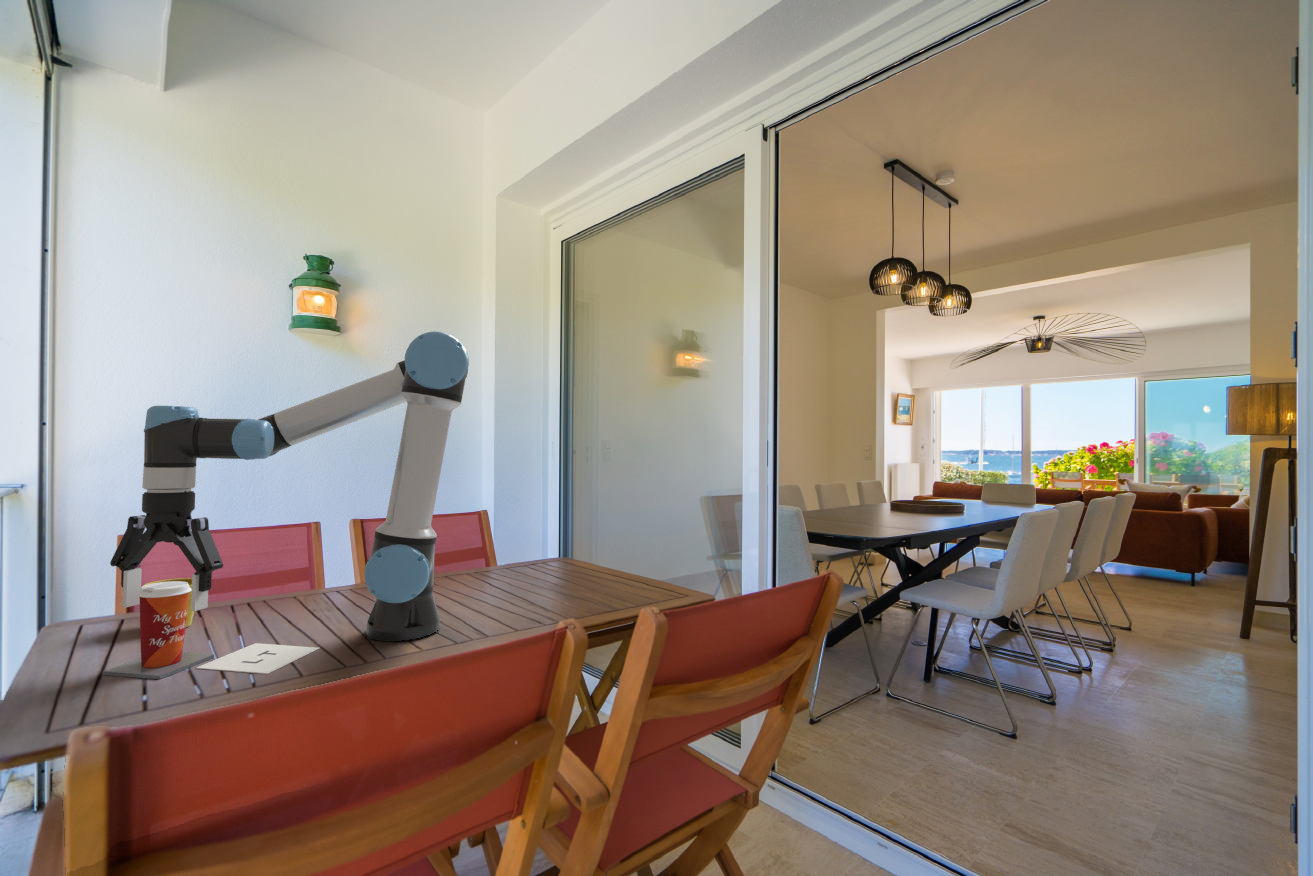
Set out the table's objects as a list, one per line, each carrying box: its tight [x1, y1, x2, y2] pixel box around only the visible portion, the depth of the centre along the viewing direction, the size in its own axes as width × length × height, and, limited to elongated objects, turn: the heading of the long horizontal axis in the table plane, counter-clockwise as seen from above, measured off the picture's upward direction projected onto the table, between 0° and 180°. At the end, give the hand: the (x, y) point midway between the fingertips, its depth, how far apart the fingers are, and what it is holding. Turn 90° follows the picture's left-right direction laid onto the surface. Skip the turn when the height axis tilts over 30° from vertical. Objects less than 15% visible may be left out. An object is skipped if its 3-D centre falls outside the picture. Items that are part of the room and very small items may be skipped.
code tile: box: [195, 642, 321, 675], centre depth 114 cm, size 14×14×1 cm
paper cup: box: [137, 581, 192, 668], centre depth 109 cm, size 8×8×14 cm
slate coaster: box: [102, 651, 215, 680], centre depth 109 cm, size 11×11×1 cm
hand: (165, 607), depth 109 cm, fingers open, 13 cm apart
